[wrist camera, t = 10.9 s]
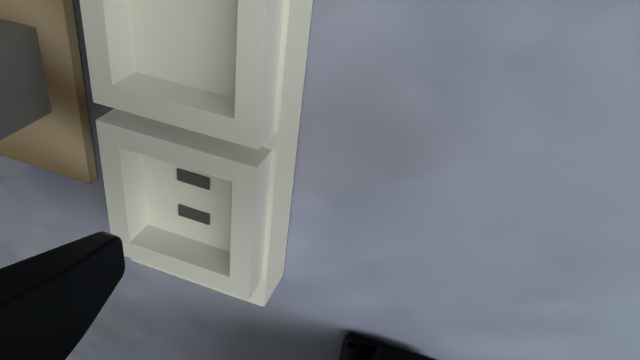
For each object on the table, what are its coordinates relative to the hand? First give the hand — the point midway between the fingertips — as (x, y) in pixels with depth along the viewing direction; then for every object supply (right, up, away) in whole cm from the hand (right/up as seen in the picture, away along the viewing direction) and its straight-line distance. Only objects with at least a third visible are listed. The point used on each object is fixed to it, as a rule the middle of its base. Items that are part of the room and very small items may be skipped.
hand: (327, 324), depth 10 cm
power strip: (-5, +7, +14) cm, 16 cm away
